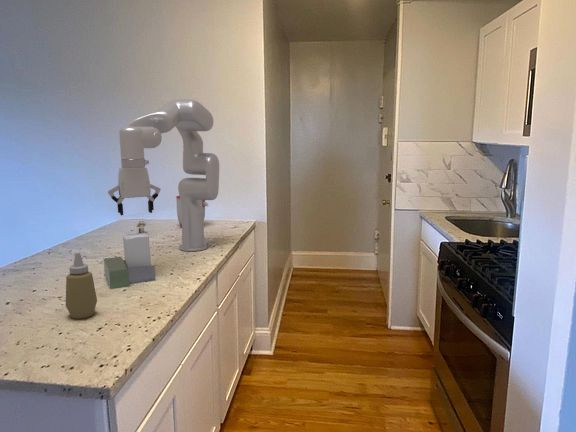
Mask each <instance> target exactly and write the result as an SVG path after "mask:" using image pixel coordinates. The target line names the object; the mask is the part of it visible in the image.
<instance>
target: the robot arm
mask: <svg viewBox="0 0 576 432" xmlns="http://www.w3.org/2000/svg"><path fill="white" fill-rule="evenodd" d="M213 126H214V117H213V114H212V113H211V112H210V110H208V108H206V107H205V106H204V105H203V104H202V103H200V102H199V101H197V100H195V99H173V100H172V99H171V100H169V101H168V102H167V103H166V104H164V105H163V106H161V108H159V109H157V111H155V112H151V113H149V114H146V115H143V116H140V117H137V118H135V119H133V120H130V122H127V124H126V125H124V126H123V127H121V128H120V129H119V131H118V134H119V136H118V137H119V147H120V148H119V149H120V163H121V167H120V168H118V177H117V180H118V181H117V185H116V186H114V187H112V188H111V189H109V190H108V191H107V194H108V195H109V196H110V198H111V199H112V200H113V202H115V203H116V204H117V213H118V214H119V215H120V216H124V206H123V205H124V204H123V203H122V202H123V201H124V200H125V199H130V198H131V199H133V198H143V197H144V198H145V197H146V198H147V199H148V201H147V206H148V208H147V210H148V212H149V213H150V214H152V213H153V211H154V206H155V205H154V202H155V199H156V198H158V196H159V194H160V193H161V190H162V189H161V188H160V187H159V186H156V185H153V184H151V183H150V182H151V181H150V176H149V171H148V168H147V167H146V166H147V165H150V160H146V158H145V151H144V150H145V149H155V148H157V147H159V146H160V145H161V142H162V134H166V133H168V132H171V130H173V129H174V128H176V129H177V131H178V133H179V134H180V136H181V140H182V145H183V146H182V148H183V149H182V171H183V172H184V173H185V174H187V175H192V176H193V175H194V176H198V175H199V176H205V178H204V177H185V178H184V177H183V178H182V179H181V180H179V182H178V185H177V187H178V189H177V190H178V194H179V195H178V196H180V201H181V216H182V227H181V236H182V237H181V239H182V241H181V242H182V243H181V244H180V245H179V246H178V250H180V251H183V252H199V251H204V250H206V249H208V244H213V243H216V242H215V238H209V237H205V230H204V229H205V226H204V225H205V223H204V221H205V218H204V219H203V207H202V205H201V203H200V202H199V200H205V201H213V200H214V201H215V200H216V199H217V198H218V196H219V190H220V187H219V186H220V185H219V184H220V161H219V158H218V156H217V155H216V154H215V153H210V152H204V141H203V138H202V137H201V135H200V134H199V132H209V131H211V130H212V128H213ZM151 189H152V190H154V193H153V194H151V193H152V192H151V191H152V190H151ZM117 191H118V195H119V196H118V197H116V196H115V193H116V192H117Z"/></svg>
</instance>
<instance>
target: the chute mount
mask: <svg viewBox="0 0 576 432" xmlns="http://www.w3.org/2000/svg"><path fill="white" fill-rule="evenodd" d="M103 268H104V276H105V277H104V278H105V279H106V282H107V283H108V288H109V289H110V290H113V289H119V288H127V287H130V285H131V284H139V283H144V282H145V283H146V282H154V281H156V269H155V265H154V264H151V265H150V266H142V267H134V268H128V267H127V266H126V264H125V259H123V258H122V256H117V257H116V256H115V257H108V258H107V257H106V258H103Z"/></svg>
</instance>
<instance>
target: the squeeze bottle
mask: <svg viewBox="0 0 576 432" xmlns="http://www.w3.org/2000/svg"><path fill="white" fill-rule="evenodd" d="M82 258H83V257H82V255H81V252H76V253H75V255H74V260H73V265H70V266H69V268H68V270H69V274H67V275H66V276H65V277H66V278H65V280H66V281H65V307H66V310H67V311H68V313H69V316H70V317H71V318H72V319H75V320H76V319H79V320H81V319H86V318H89V317H91V316H93V315H94V314H95V311H96V307H97V302H98V298H97V297H98V296H97V293H96V292H97V291H96V286H95V282H94V276H93V273H92V272H90V271H89V265H88V264H86V263H84V262H83V259H82Z"/></svg>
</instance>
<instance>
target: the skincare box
mask: <svg viewBox="0 0 576 432" xmlns="http://www.w3.org/2000/svg"><path fill="white" fill-rule="evenodd" d="M122 242H123V251H124V252H123V254H124V260H125V264H126V266H127V267H128V268H134V267H142V266H150V265H152V262H151V248H150V236H149V234H147V232H144V233H143V232H141V233H139V232H138V233H133V234H124V235H122Z"/></svg>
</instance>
